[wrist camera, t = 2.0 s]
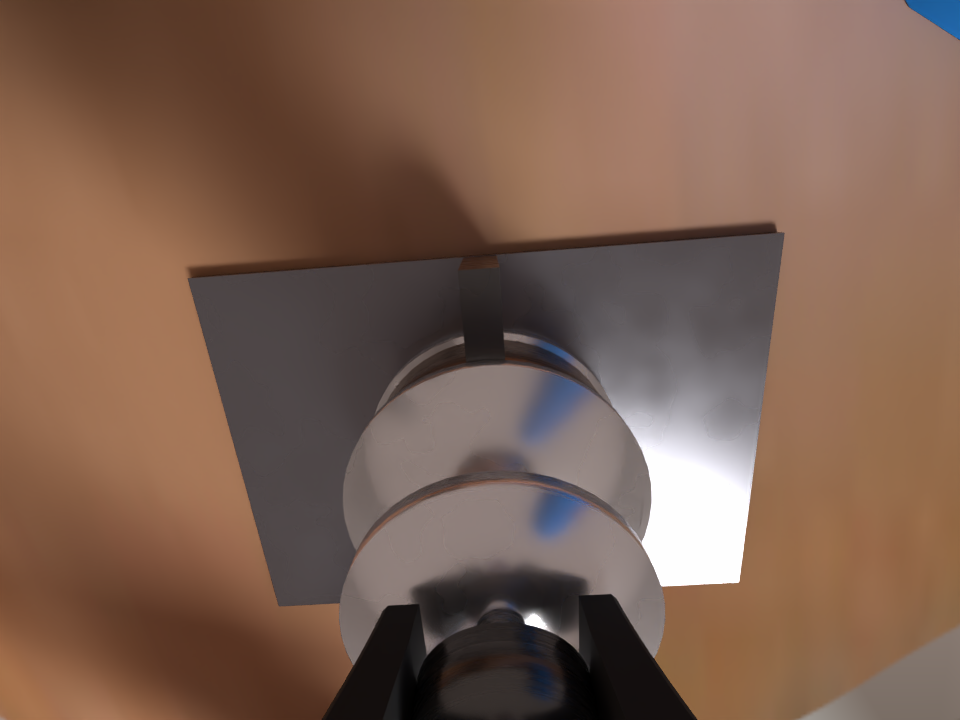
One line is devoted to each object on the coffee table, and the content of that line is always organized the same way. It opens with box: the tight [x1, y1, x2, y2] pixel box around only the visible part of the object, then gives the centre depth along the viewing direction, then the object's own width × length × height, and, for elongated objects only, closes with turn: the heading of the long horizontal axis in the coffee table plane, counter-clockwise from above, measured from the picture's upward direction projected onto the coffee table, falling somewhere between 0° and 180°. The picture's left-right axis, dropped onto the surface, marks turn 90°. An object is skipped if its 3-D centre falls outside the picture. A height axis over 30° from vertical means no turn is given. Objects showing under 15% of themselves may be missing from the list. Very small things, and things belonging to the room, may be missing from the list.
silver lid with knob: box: [339, 470, 665, 720], centre depth 8 cm, size 6×6×3 cm
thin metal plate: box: [188, 232, 784, 606], centre depth 14 cm, size 13×18×4 cm
